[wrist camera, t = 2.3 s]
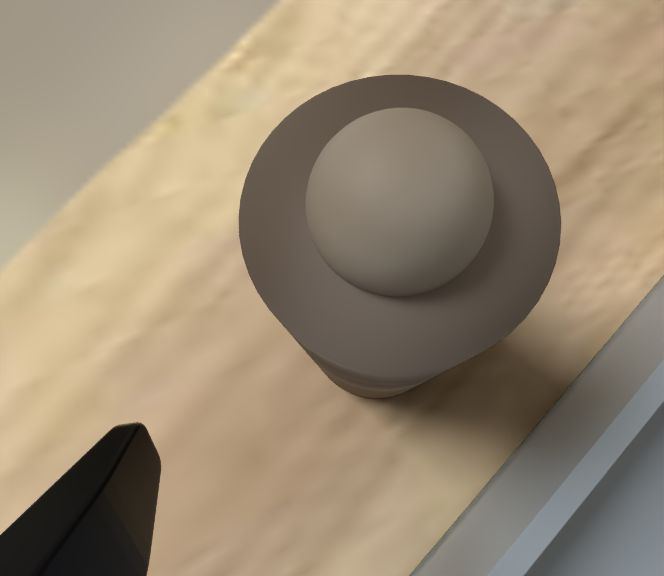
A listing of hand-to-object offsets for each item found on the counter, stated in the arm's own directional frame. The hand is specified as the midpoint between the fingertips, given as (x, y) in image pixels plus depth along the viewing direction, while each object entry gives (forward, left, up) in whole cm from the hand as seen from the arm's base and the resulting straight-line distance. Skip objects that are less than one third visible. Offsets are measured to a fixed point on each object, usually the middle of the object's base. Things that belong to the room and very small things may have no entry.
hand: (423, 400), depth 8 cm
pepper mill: (+2, -2, -10) cm, 10 cm away
